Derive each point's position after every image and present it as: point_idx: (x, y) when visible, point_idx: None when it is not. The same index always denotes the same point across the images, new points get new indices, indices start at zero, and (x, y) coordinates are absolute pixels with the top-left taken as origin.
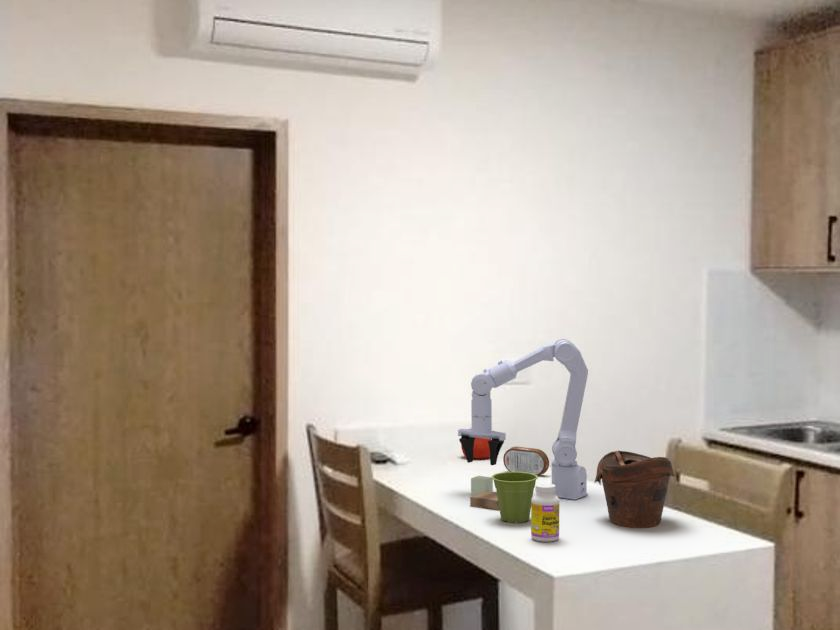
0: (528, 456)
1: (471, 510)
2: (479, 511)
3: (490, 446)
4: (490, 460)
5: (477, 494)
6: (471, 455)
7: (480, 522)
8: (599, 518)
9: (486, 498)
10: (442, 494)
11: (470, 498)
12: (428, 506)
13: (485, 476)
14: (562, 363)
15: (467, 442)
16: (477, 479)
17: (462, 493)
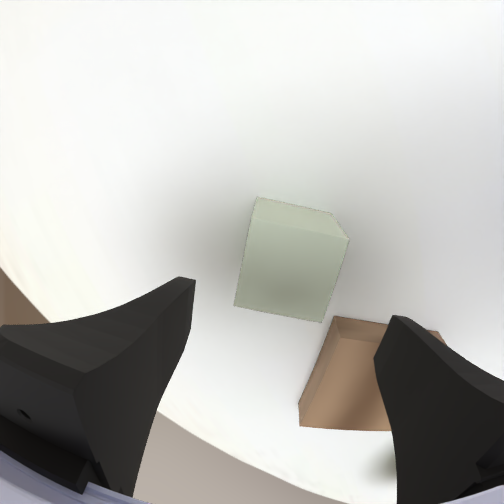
0: None
1: (315, 432)
2: (339, 432)
3: (410, 493)
4: (382, 388)
5: (315, 396)
6: (177, 325)
7: (355, 479)
8: None
9: (357, 425)
10: (129, 285)
11: (300, 422)
12: (182, 425)
13: (298, 229)
14: None
15: (131, 471)
16: (276, 313)
17: (191, 241)
